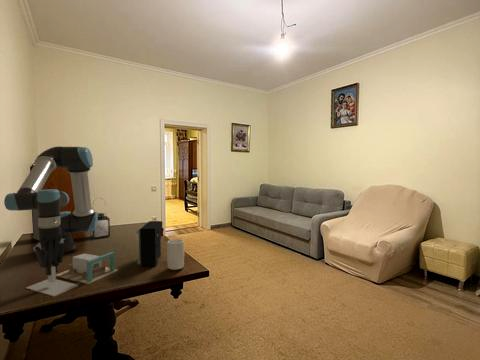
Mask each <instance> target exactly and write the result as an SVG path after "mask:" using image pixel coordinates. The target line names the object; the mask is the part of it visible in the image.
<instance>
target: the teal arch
mask: <svg viewBox="0 0 480 360" xmlns="http://www.w3.org/2000/svg"><path fill="white" fill-rule="evenodd" d="M98 256H99V257H97V258H94V259H91V260H89V261H87V280H88V281H92V280H93V270H92V264H93V263H95V262H98V261H100V260H102V261H103V260H106V259H107V258H109V268H110V270H111V271H114V270H115V269H116V263H115V262H116V261H115V258H116V256H115V252H114V251H111V252H108V253H105V254H102V255H98Z"/></svg>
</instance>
